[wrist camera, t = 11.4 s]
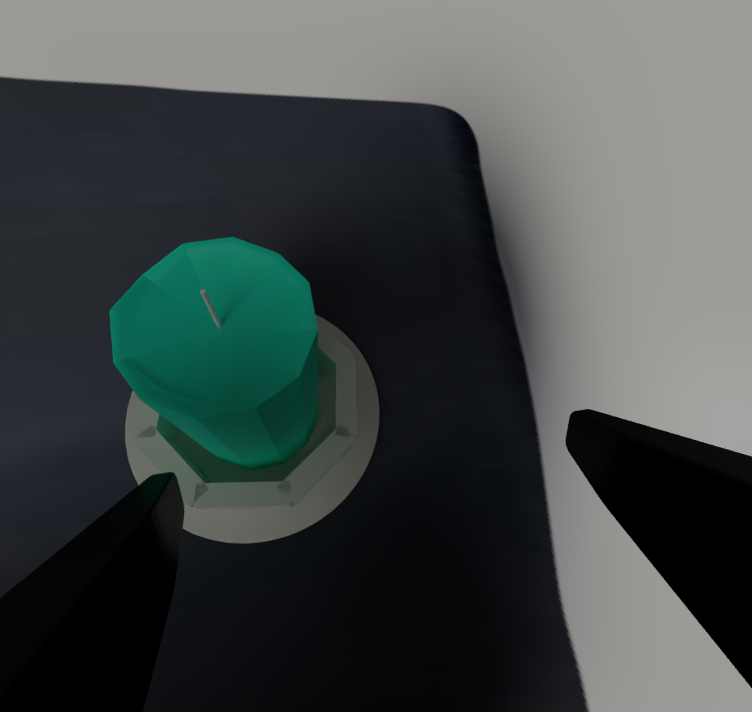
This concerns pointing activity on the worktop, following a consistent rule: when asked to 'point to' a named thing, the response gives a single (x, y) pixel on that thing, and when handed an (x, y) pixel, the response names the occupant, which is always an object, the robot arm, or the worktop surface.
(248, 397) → the candle
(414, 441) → the worktop surface
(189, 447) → the candle dish
